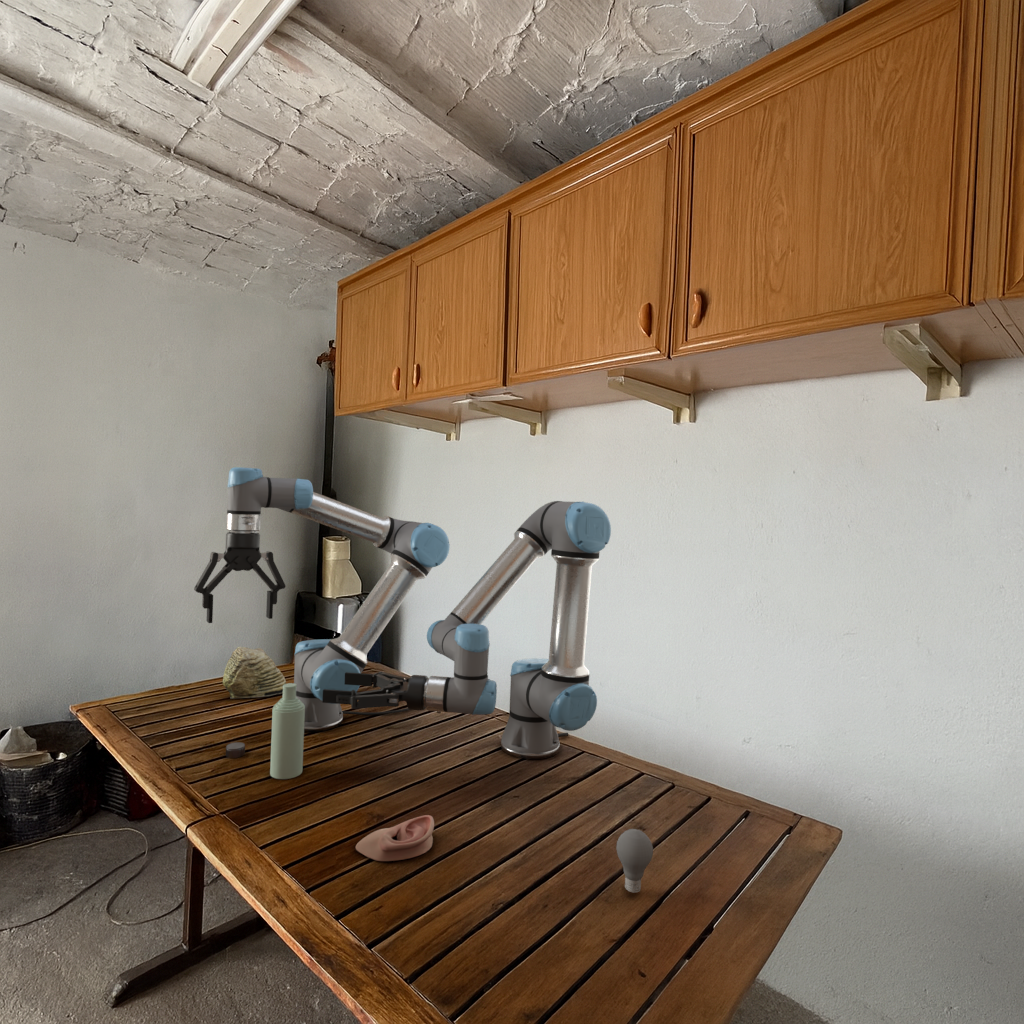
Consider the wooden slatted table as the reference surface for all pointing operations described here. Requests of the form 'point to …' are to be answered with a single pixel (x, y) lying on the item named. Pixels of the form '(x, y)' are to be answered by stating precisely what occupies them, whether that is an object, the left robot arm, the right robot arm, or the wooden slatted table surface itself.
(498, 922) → the wooden slatted table surface
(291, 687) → the bottle
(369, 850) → the anatomical model
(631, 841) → the light bulb
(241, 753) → the cap
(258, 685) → the fossil
